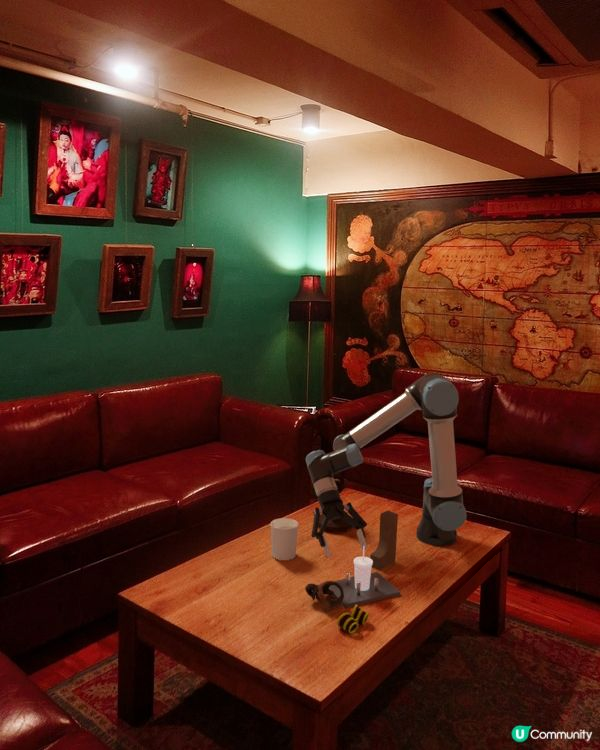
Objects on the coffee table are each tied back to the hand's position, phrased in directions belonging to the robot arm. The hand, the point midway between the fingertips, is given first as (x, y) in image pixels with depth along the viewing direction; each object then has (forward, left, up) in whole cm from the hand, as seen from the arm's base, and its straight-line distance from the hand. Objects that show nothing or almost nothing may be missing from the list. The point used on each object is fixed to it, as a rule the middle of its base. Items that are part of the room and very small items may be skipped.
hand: (347, 552), depth 216 cm
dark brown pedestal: (-16, -38, -9) cm, 42 cm away
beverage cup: (0, +10, -8) cm, 13 cm away
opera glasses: (+12, +26, -9) cm, 31 cm away
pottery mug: (+15, +12, -9) cm, 21 cm away
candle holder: (+13, -22, -9) cm, 27 cm away
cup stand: (0, +10, -9) cm, 13 cm away
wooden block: (-16, -3, -9) cm, 18 cm away
